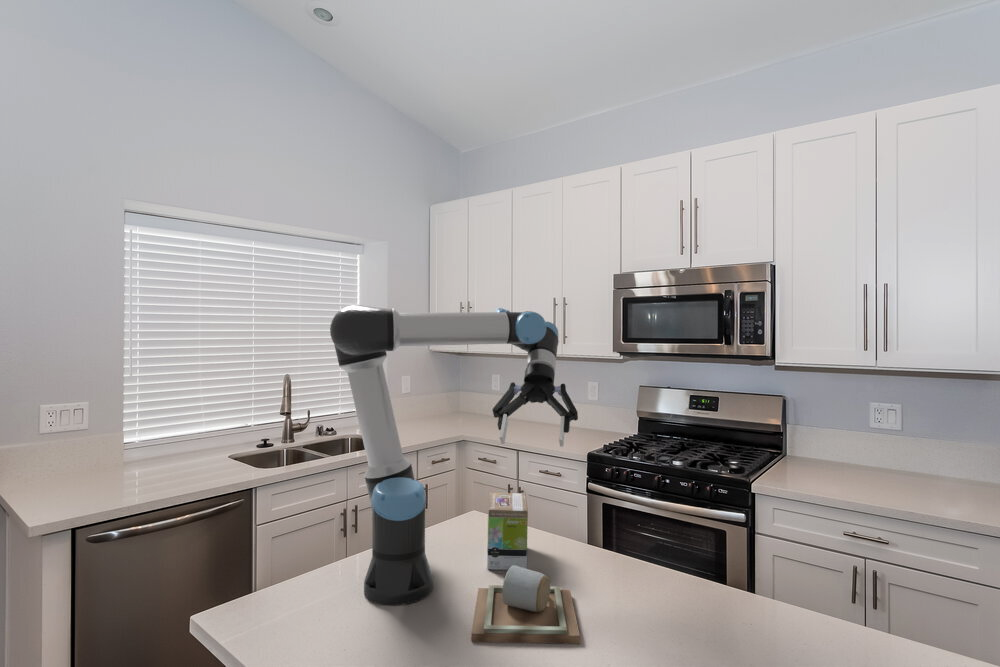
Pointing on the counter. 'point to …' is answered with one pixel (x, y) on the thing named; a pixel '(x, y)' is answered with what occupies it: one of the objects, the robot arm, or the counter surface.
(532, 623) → the board
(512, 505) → the tea box
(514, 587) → the ceramic mug
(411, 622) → the counter surface
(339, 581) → the counter surface
